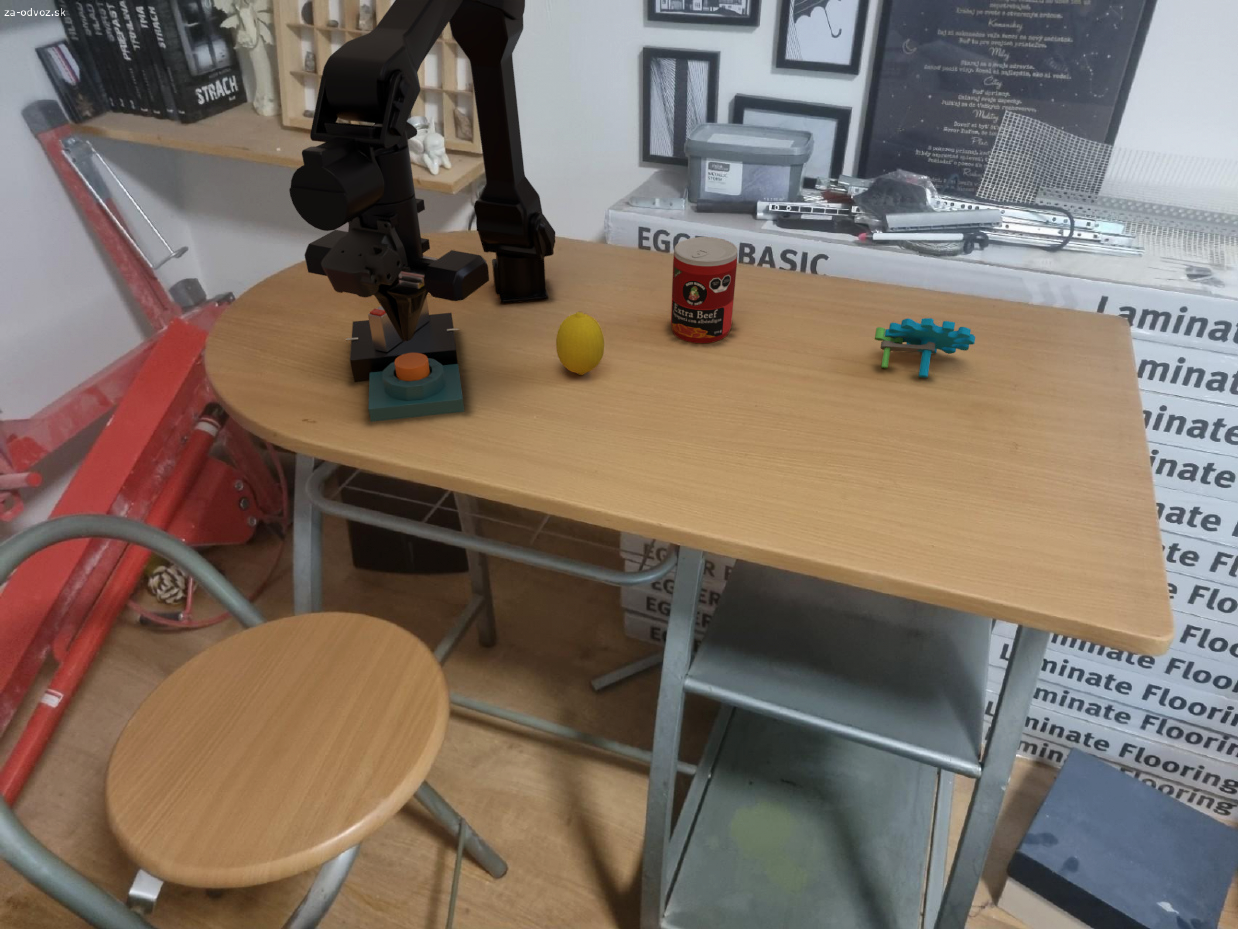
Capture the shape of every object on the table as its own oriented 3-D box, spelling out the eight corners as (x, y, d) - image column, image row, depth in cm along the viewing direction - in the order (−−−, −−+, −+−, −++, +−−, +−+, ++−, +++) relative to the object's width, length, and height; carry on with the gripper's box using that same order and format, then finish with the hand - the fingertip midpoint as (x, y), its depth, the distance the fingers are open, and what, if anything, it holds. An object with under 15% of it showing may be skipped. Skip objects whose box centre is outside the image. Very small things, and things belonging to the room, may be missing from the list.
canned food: (661, 338, 110) (664, 255, 103) (682, 312, 116) (686, 232, 109) (720, 349, 108) (727, 265, 101) (738, 322, 114) (745, 241, 107)
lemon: (598, 388, 100) (598, 325, 95) (552, 383, 101) (549, 321, 96) (609, 365, 104) (608, 304, 100) (564, 360, 105) (561, 299, 100)
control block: (459, 376, 102) (456, 349, 100) (464, 412, 96) (461, 384, 94) (371, 385, 100) (366, 358, 98) (370, 422, 94) (365, 394, 92)
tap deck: (457, 327, 112) (455, 305, 110) (465, 378, 102) (462, 354, 100) (352, 337, 110) (347, 314, 108) (348, 390, 99) (343, 365, 98)
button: (429, 364, 98) (427, 351, 97) (430, 380, 95) (428, 366, 94) (396, 368, 97) (394, 354, 96) (396, 384, 94) (394, 370, 93)
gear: (976, 345, 105) (975, 315, 96) (969, 392, 104) (968, 366, 95) (881, 339, 109) (873, 309, 100) (874, 384, 108) (864, 358, 99)
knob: (417, 317, 108) (412, 281, 105) (430, 320, 107) (425, 284, 104) (374, 349, 101) (367, 312, 98) (387, 352, 100) (380, 315, 98)
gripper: (250, 207, 81) (287, 356, 90) (420, 237, 75) (441, 392, 85) (326, 173, 90) (353, 312, 99) (485, 197, 84) (497, 342, 93)
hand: (407, 339), depth 94 cm, fingers closed
